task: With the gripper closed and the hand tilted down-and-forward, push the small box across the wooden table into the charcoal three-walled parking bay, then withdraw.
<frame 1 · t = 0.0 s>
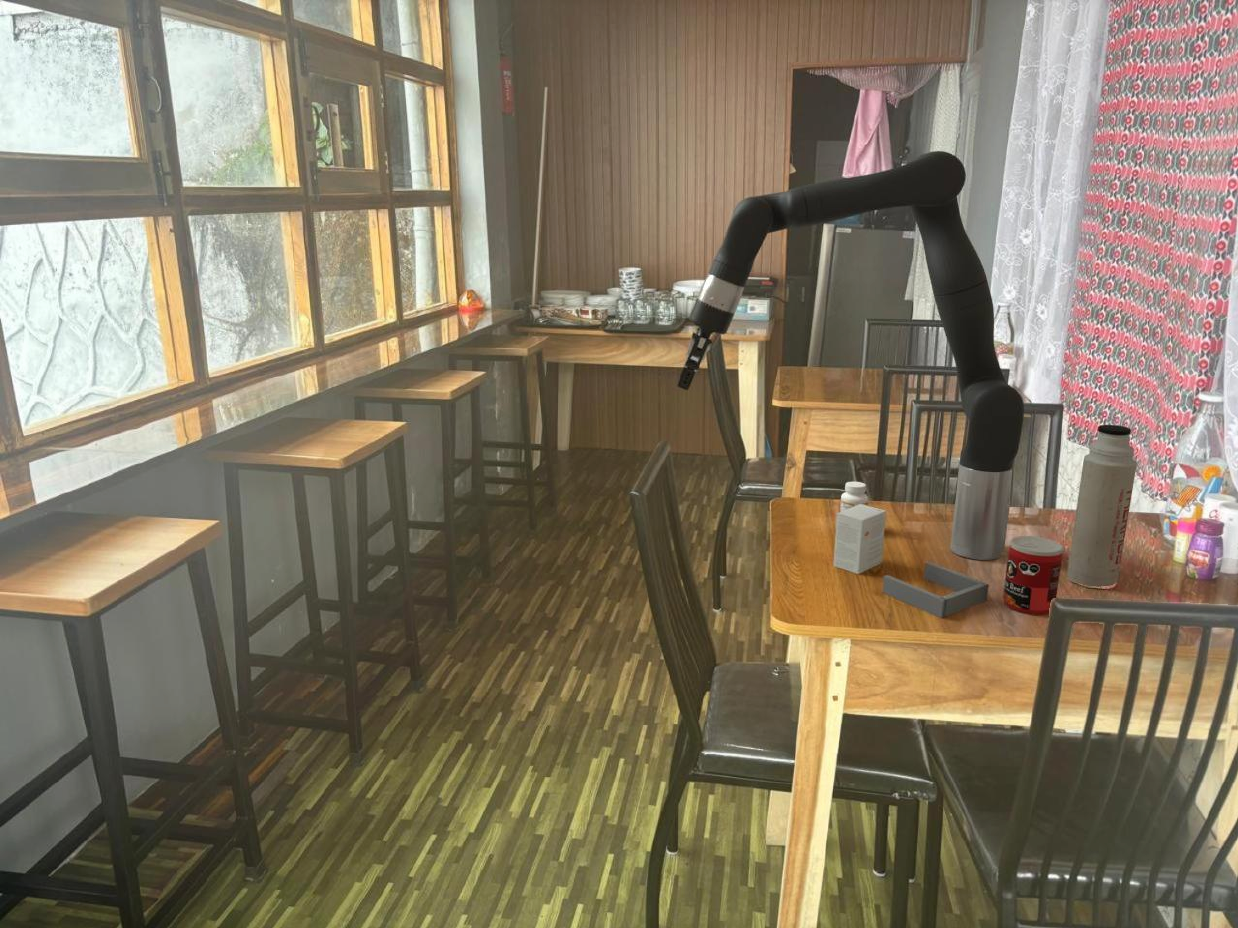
hand: (683, 384, 170), 31 cm above the table, tool tilted 20°, fingers open, 8 cm apart
bay: (931, 595, 153), on the table
small box: (857, 566, 167), on the table
thermos bottle: (1091, 581, 160), on the table
supplement bottle: (852, 530, 185), on the table
canned food: (1028, 606, 150), on the table
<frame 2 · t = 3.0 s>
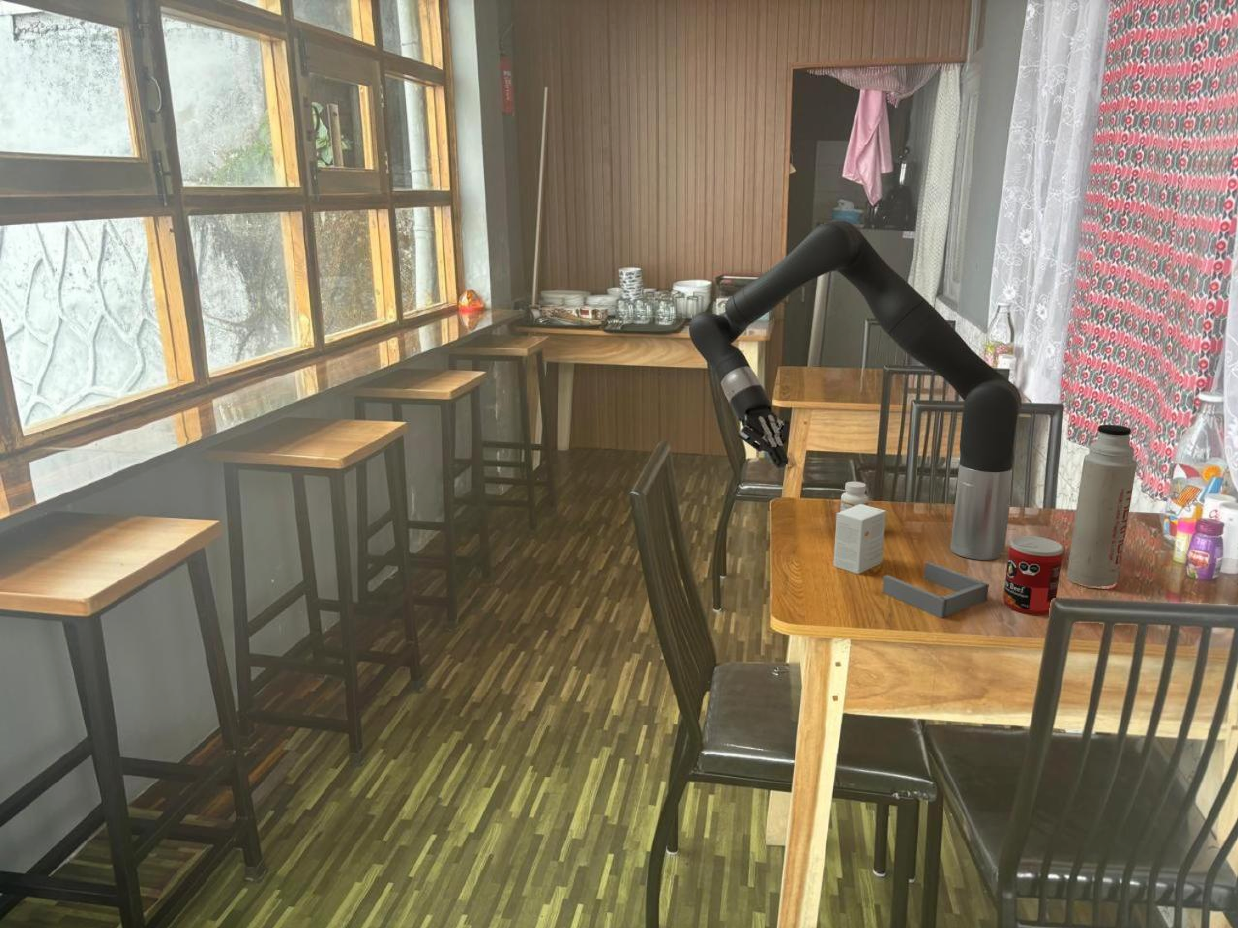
hand: (783, 465, 179), 14 cm above the table, tool tilted 45°, fingers closed
nothing on the table moved.
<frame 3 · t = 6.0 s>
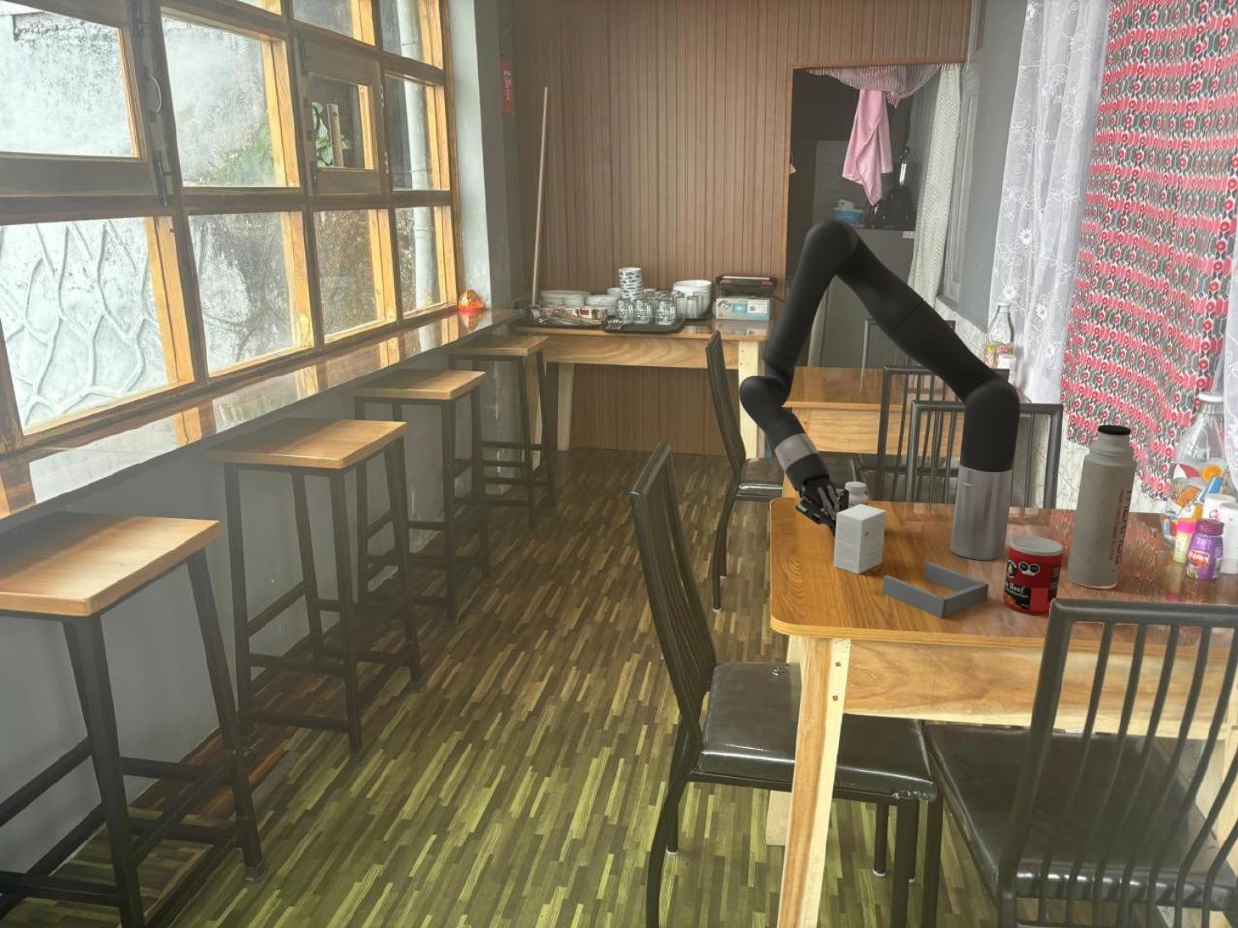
hand: (844, 539, 168), 4 cm above the table, tool tilted 45°, fingers closed
small box: (857, 566, 167), on the table, touching gripper
everything else where it was.
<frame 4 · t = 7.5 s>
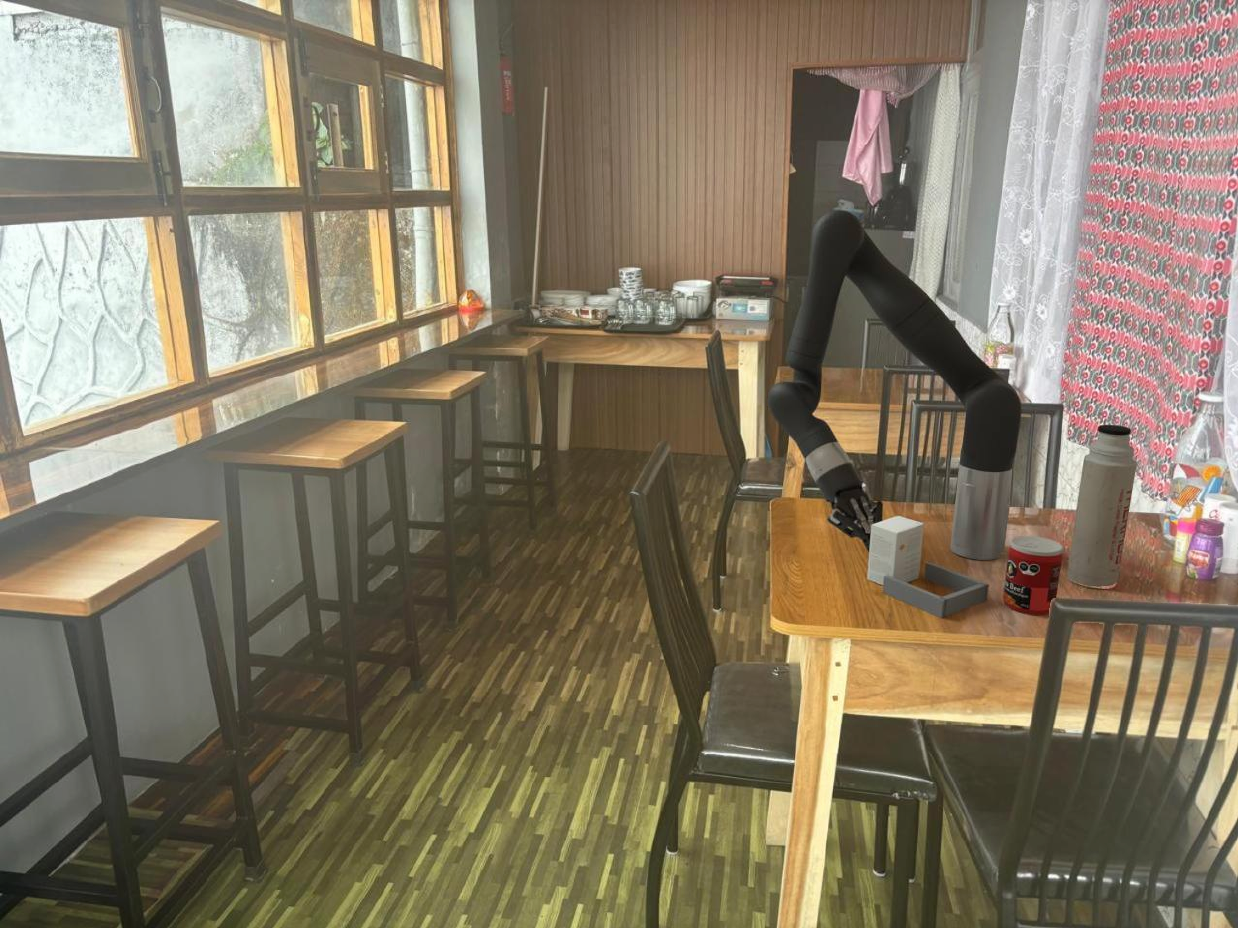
hand: (879, 553, 162), 4 cm above the table, tool tilted 45°, fingers closed
small box: (892, 580, 160), on the table, touching gripper
everything else where it was.
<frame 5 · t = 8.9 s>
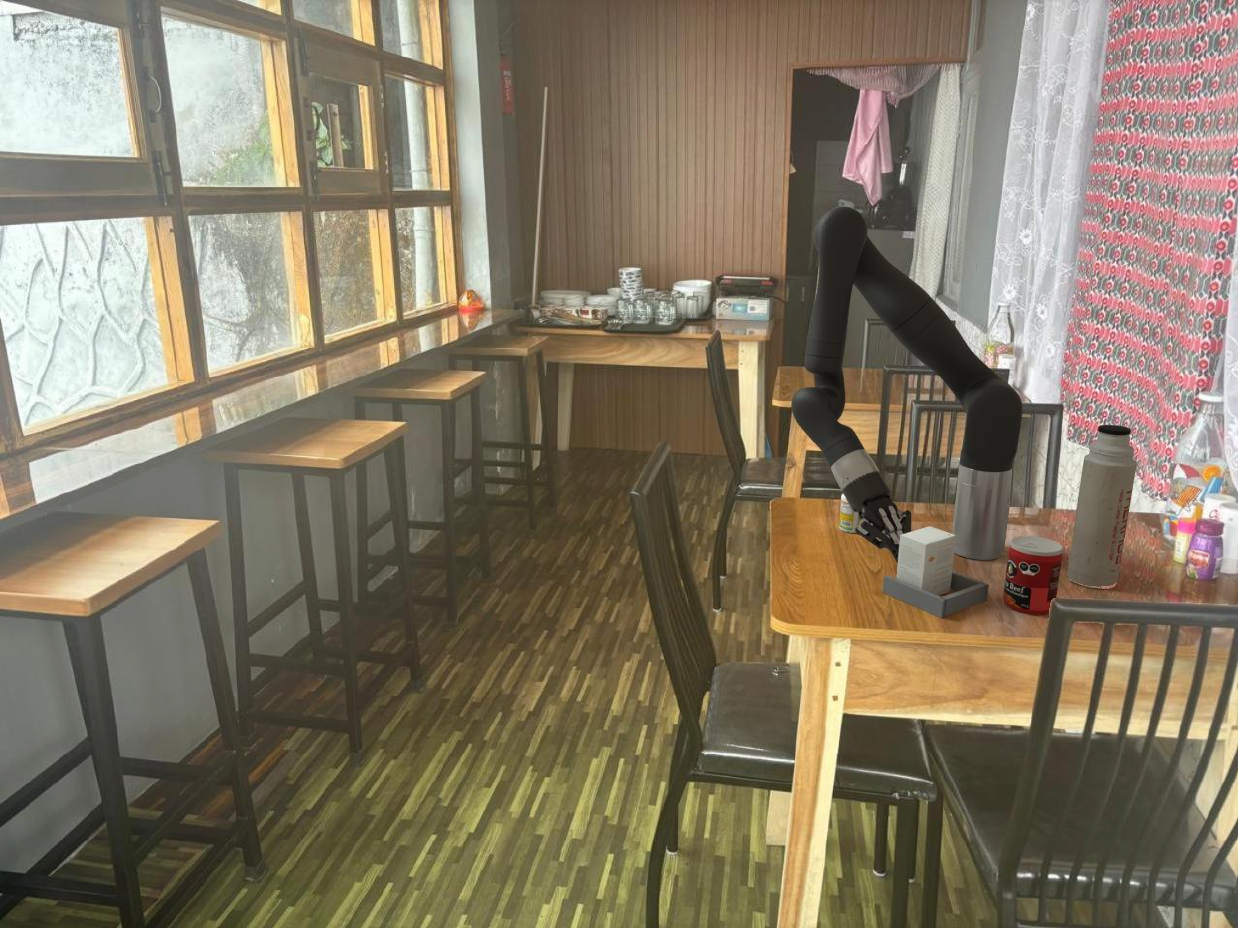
hand: (908, 565, 156), 4 cm above the table, tool tilted 45°, fingers closed
small box: (922, 592, 155), on the table, touching gripper
everything else where it was.
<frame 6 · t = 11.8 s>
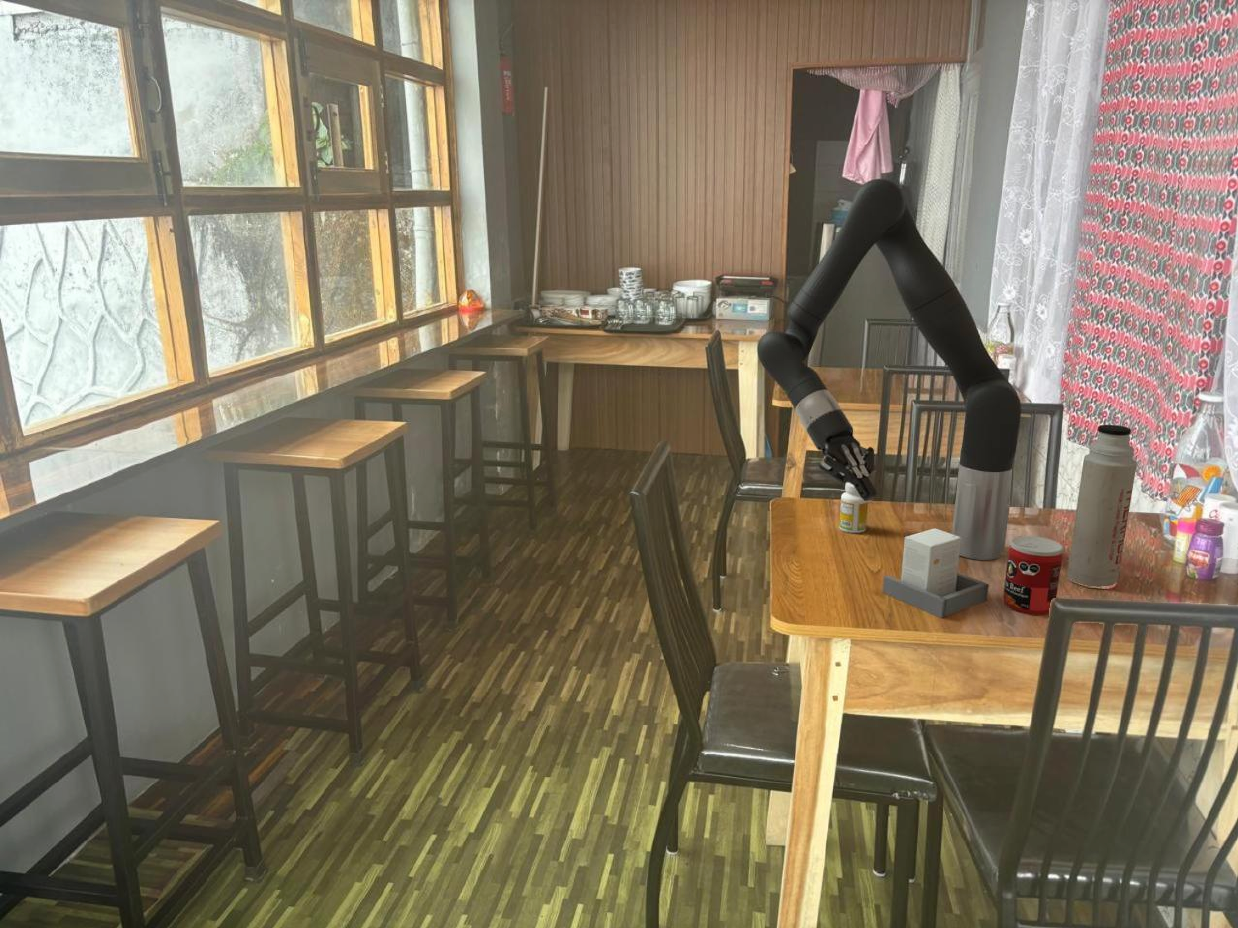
hand: (871, 498, 162), 13 cm above the table, tool tilted 45°, fingers closed
small box: (927, 595, 154), on the table
everything else where it was.
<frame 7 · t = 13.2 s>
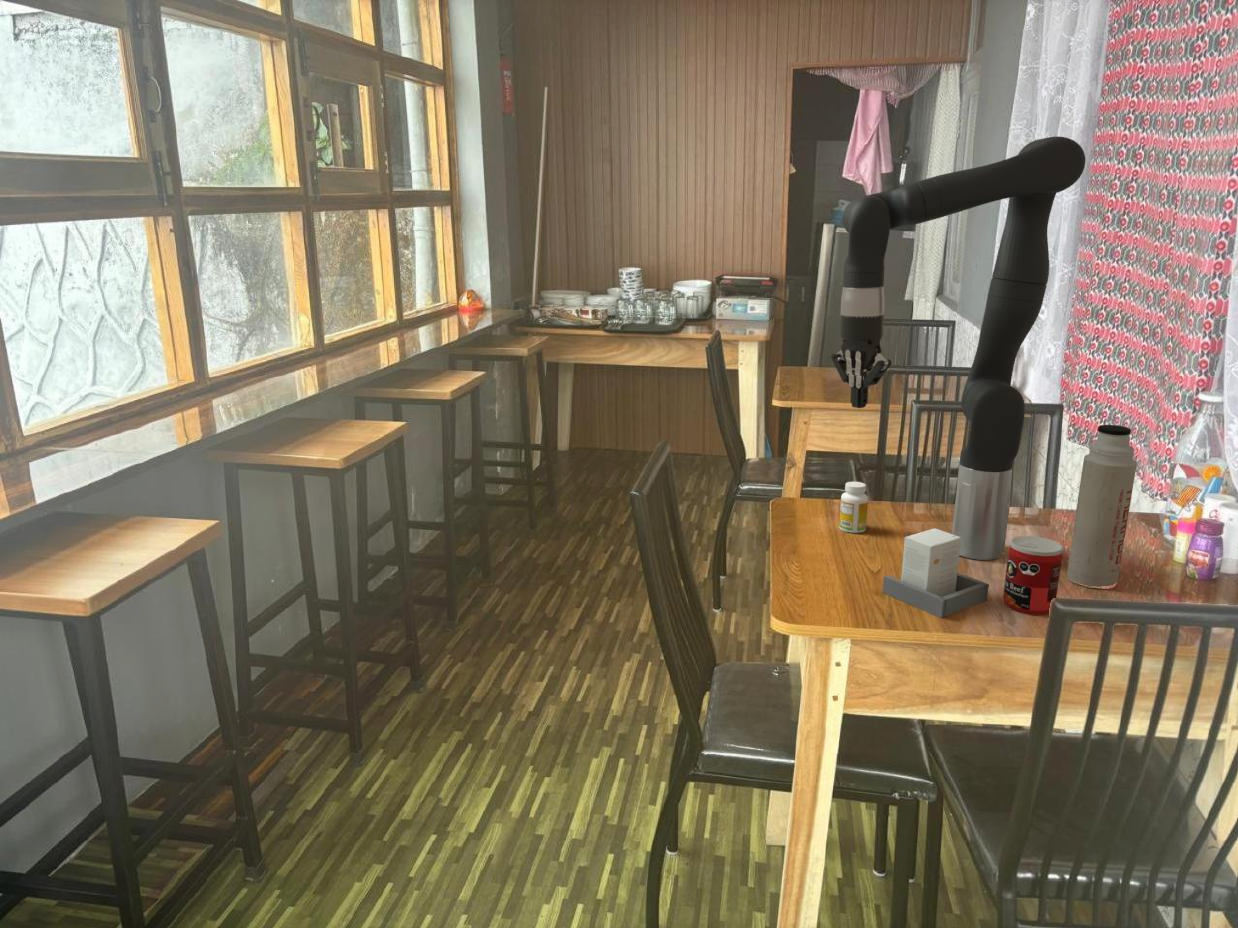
hand: (858, 407, 166), 28 cm above the table, tool pointing down, fingers closed
nothing on the table moved.
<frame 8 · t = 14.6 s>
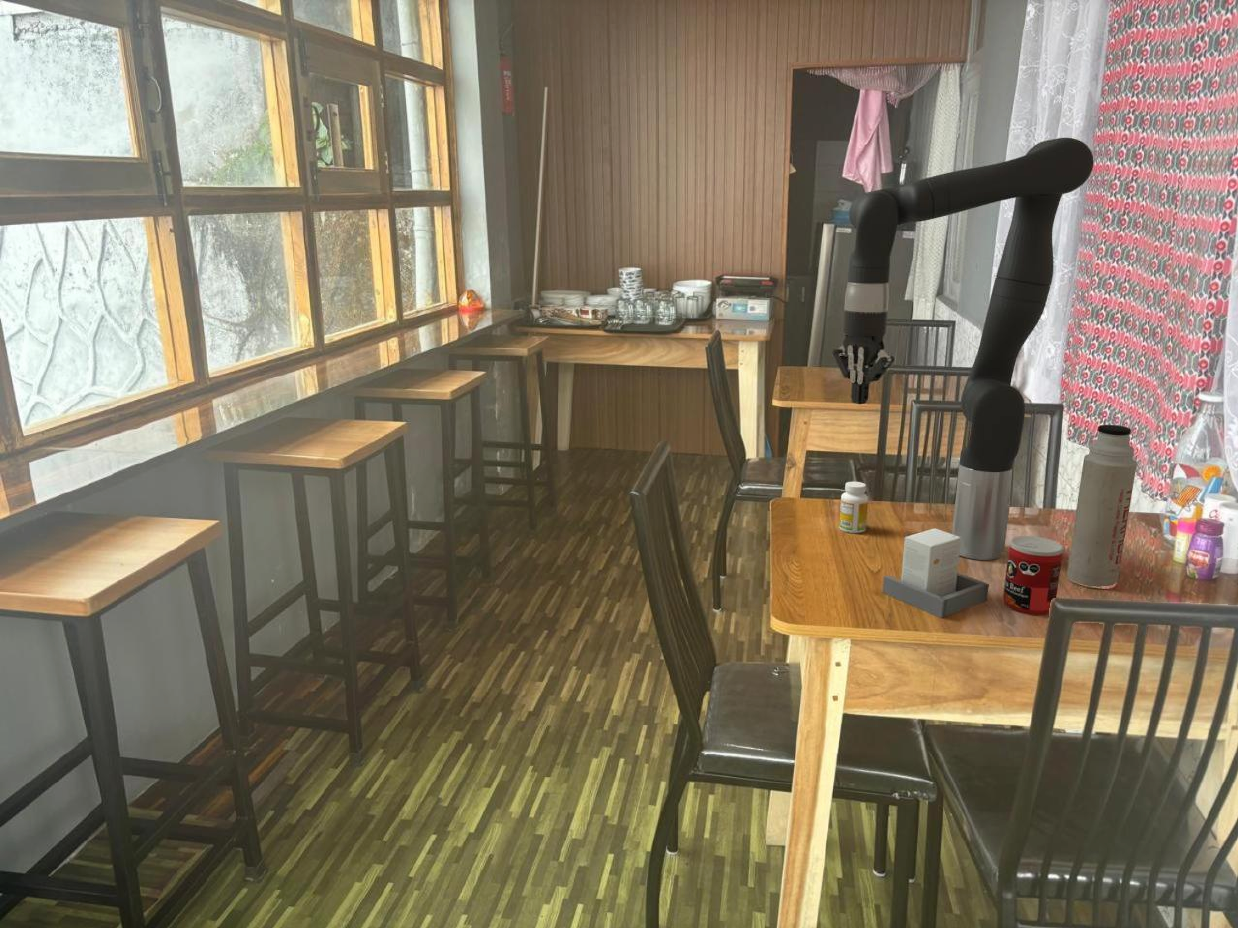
hand: (858, 403, 166), 29 cm above the table, tool pointing down, fingers closed
nothing on the table moved.
at the end: small box inside the target area on the bay (0.3 cm from its centre), point 0.0 cm above the bay's base; small box tilted 0° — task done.
